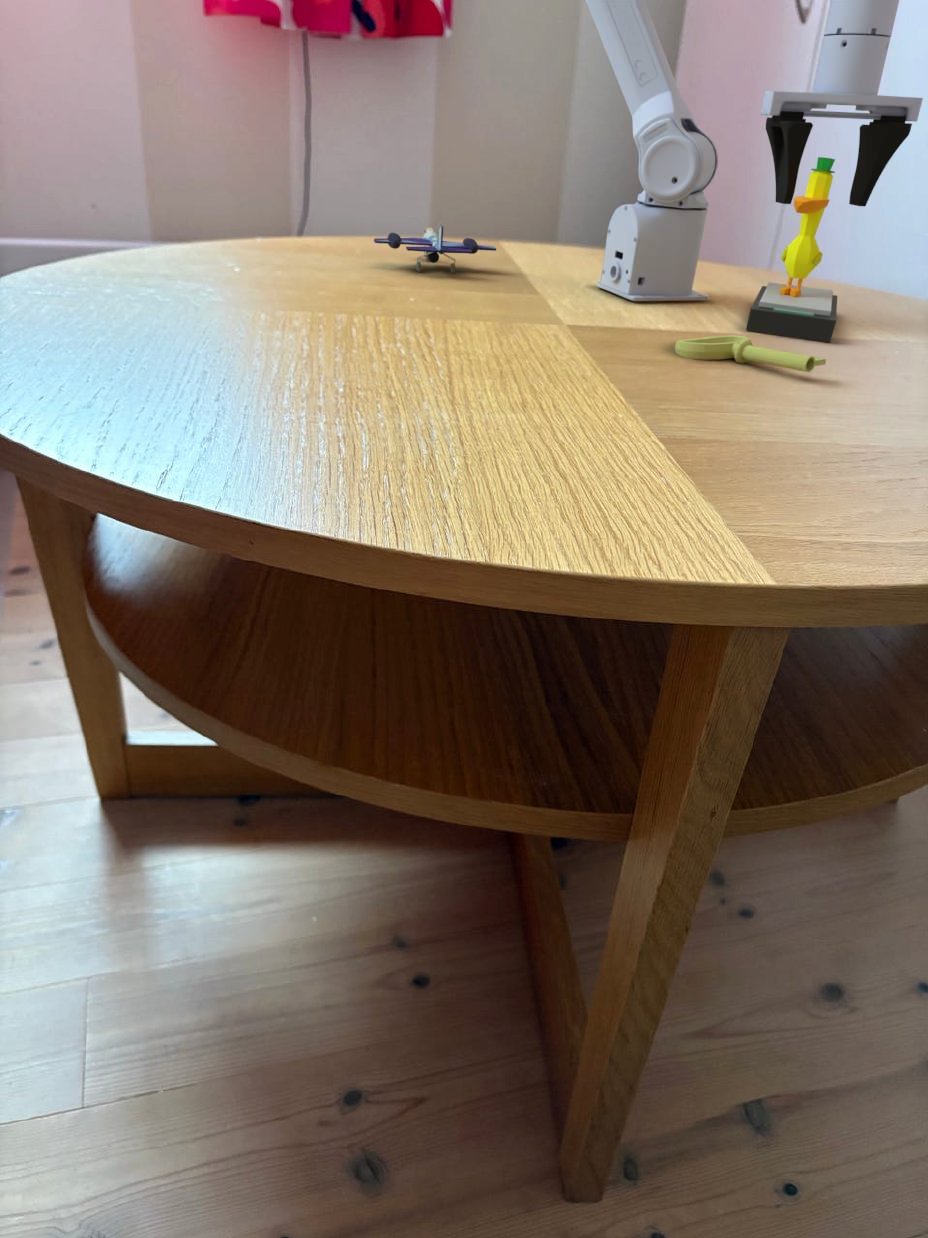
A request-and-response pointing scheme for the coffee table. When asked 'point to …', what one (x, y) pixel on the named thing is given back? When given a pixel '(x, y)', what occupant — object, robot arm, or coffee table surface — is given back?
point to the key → (743, 352)
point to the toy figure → (808, 227)
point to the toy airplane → (434, 246)
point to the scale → (794, 313)
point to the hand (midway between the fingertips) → (820, 204)
